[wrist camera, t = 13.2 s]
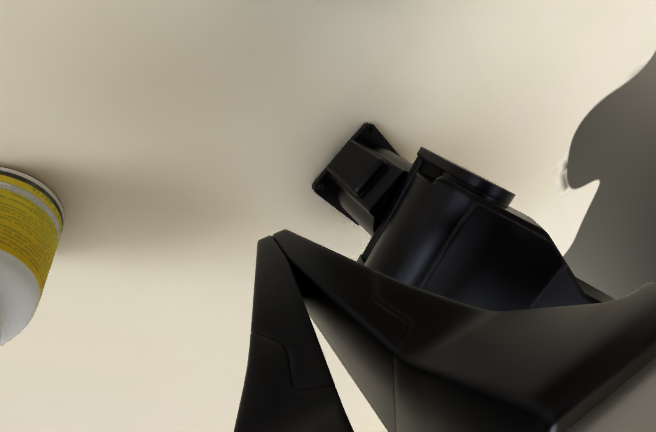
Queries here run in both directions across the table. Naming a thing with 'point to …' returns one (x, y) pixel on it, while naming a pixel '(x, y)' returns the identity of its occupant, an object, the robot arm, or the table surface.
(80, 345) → the table surface
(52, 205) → the supplement bottle
